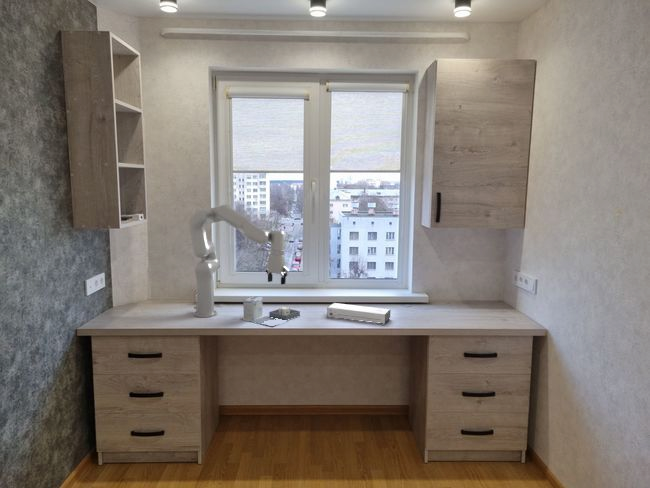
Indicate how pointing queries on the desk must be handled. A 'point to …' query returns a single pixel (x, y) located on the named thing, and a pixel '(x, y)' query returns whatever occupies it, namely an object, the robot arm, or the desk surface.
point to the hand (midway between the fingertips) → (276, 282)
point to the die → (284, 310)
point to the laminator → (358, 312)
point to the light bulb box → (252, 308)
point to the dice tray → (284, 317)
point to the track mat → (260, 319)
